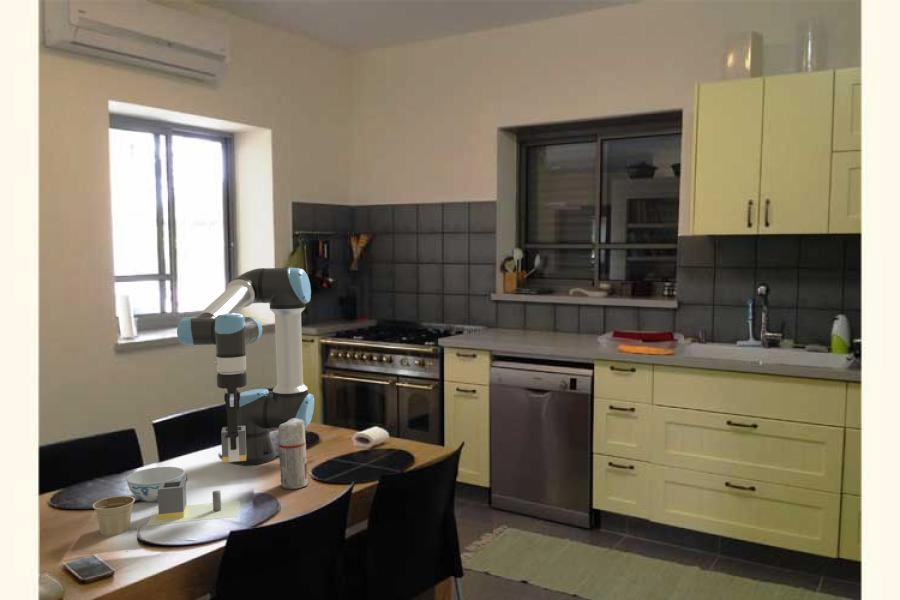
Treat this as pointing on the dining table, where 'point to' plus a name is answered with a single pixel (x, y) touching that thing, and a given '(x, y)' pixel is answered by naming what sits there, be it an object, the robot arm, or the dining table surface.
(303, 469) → the spray can
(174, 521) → the pin board
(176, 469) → the chinaware
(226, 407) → the robot arm
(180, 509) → the sleeve seated
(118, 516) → the flower pot
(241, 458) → the sleeve
